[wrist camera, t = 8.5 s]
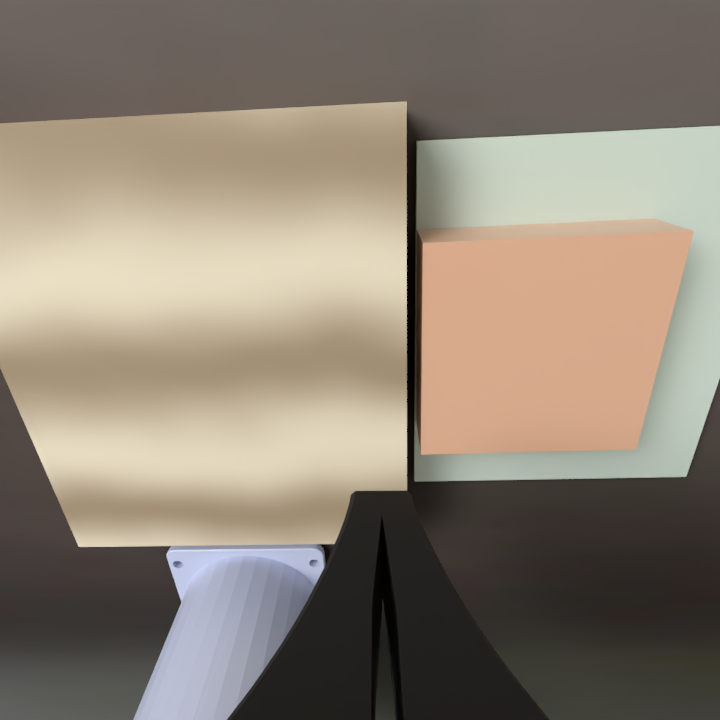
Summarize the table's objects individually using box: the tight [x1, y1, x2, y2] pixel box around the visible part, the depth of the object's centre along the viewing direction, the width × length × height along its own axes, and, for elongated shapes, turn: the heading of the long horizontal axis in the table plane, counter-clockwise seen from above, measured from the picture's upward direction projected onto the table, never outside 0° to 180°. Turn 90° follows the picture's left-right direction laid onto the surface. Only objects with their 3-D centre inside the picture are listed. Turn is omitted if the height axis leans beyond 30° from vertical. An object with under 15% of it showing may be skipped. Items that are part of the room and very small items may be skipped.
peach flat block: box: [416, 218, 694, 455], centre depth 17 cm, size 8×8×2 cm
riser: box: [0, 102, 407, 547], centre depth 17 cm, size 16×14×3 cm
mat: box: [414, 126, 720, 482], centre depth 18 cm, size 14×12×1 cm
